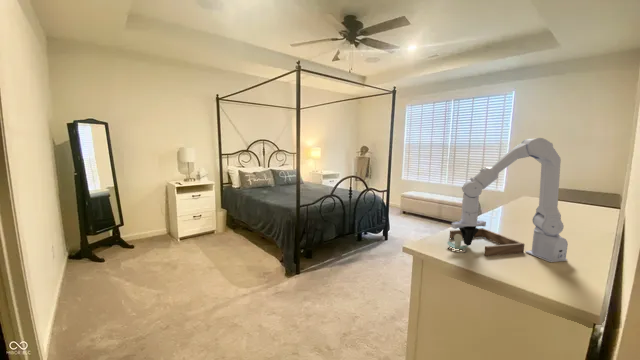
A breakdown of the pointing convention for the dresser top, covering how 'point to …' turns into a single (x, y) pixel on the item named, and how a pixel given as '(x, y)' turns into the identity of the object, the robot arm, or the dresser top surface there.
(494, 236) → the open box
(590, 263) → the dresser top surface
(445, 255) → the dresser top surface
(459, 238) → the pacifier
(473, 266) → the dresser top surface
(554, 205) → the robot arm
